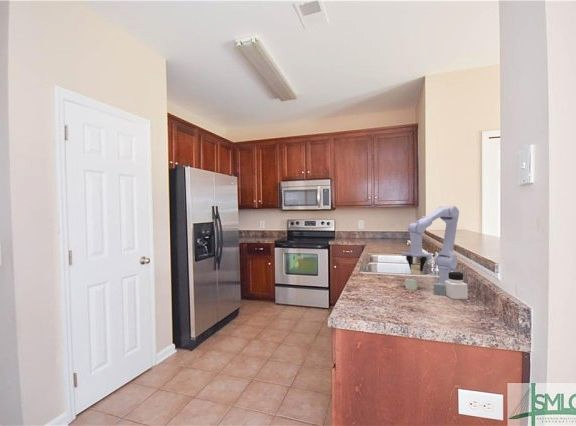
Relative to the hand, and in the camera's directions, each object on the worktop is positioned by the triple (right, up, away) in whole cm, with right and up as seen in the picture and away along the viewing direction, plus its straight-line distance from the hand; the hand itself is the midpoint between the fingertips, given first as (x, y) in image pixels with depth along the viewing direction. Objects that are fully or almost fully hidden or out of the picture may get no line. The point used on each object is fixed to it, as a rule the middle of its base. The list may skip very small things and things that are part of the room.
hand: (416, 270), depth 150 cm
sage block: (-3, -10, 0) cm, 10 cm away
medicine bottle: (+11, -10, -16) cm, 22 cm away
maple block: (0, -2, 0) cm, 2 cm away
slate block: (+6, -10, -11) cm, 16 cm away
